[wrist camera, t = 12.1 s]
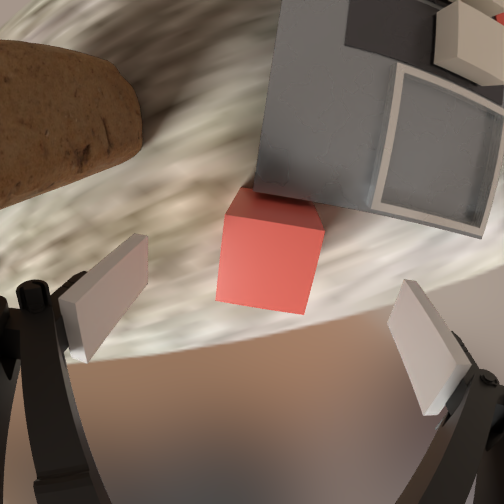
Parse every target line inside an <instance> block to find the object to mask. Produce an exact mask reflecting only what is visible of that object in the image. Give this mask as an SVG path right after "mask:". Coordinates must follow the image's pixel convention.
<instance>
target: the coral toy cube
mask: <svg viewBox="0 0 504 504" xmlns="http://www.w3.org/2000/svg"><path fill="white" fill-rule="evenodd" d="M324 233H325V230H324V227H323V225H322V223H321V220H320V218H319V215H318V213H317V211H316V208H315V206H314V204H313V201H307V200H302V199H296V198H290V197H284V196H279V195H272V194H266V193H260V192H254V191H253V189H250V188H244V187H241V188H240V190H239V191H238V193H237V195H236V196H235V198H234V200H233V202H232V203H231V205H230V207H229V209H228V210H227V212H226V214H225V219H224V227H223V236H222V245H221V253H220V262H219V272H218V281H217V291H216V300H215V301H220V302H226V303H232V304H238V305H243V306H250V307H256V308H262V309H268V310H275V311H281V312H288V313H295V314H302V315H304V313H305V309H306V305H307V302H308V298H309V294H310V290H311V286H312V283H313V279H314V275H315V271H316V267H317V263H318V259H319V255H320V250H321V246H322V242H323V238H324Z"/></svg>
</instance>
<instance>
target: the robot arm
mask: <svg viewBox="0 0 504 504" xmlns="http://www.w3.org/2000/svg"><path fill="white" fill-rule="evenodd" d="M147 284H148V236H147V235H141V234H135V233H134V234H133V235H132V236H131V237H129V238H128V239H127V240H126V241H124V242H123V243H122V244H121V245H119V246H118V247H117V248H116V249H115V250H113V251H112V252H111V253H110V254H108V255H107V256H106V257H105V258H104V259H103V260H101V261H100V262H99V263H98V264H97V265H95V266H94V267H93V268H92V269H91V270H90V271H88V272H86V271H82V272H80V273H78V274H76V275H74V276H73V277H71V278H70V279H69V280H68V281H67V282H65V283H64V284H63V285H62V287H60V288H58V289H57V290H56V291H55V292H54V293H53V294H52V295H50V292H49V287H48V284H47V283H46V282H45V281H42V280H29V281H26V282H24V283H22V284H20V285H19V286H18V287H17V289H16V294H17V298H18V302H19V306H20V309H16V308H9V307H8V303H7V300H6V298H4V297H3V296H0V504H3V481H4V464H5V453H6V444H7V436H8V428H9V422H10V415H11V409H12V403H13V398H14V393H15V388H16V383H17V379H18V375H19V371H20V366H21V375H22V388H23V398H24V407H25V415H26V422H27V429H28V435H29V440H30V445H31V451H32V456H33V460H34V465H35V469H36V473H37V480H35V481H34V486H33V487H34V492H35V496H36V500H37V503H38V504H112V503H111V500H110V498H109V496H108V493H107V491H106V489H105V487H104V484H103V482H102V479H101V477H100V474H99V472H98V469H97V467H96V464H95V462H94V459H93V456H92V453H91V451H90V448H89V445H88V442H87V439H86V436H85V433H84V430H83V426H82V423H81V420H80V417H79V413H78V410H77V406H76V402H75V399H74V395H73V391H72V387H71V383H70V378H69V374H68V369H67V365H66V360H65V356H64V351H65V350H66V349H67V348H68V347H69V350H70V354H71V357H72V358H74V359H76V360H79V361H82V362H85V363H88V362H89V361H90V359H91V358H92V356H93V355H94V354H95V352H96V351H97V350H98V348H99V347H100V346H101V344H102V343H103V341H104V340H105V339H106V337H107V336H108V335H109V333H110V332H111V331H112V329H113V328H114V327H115V325H116V324H117V323H118V321H119V320H120V319H121V318H122V316H123V315H124V314H125V312H126V311H127V310H128V308H129V307H130V306H131V305H132V303H133V302H134V301H135V299H136V298H137V297H138V296H139V294H140V293H141V292H142V290H143V289H144V288H145V287H146V285H147ZM387 324H388V327H389V329H390V331H391V334H392V336H393V339H394V341H395V343H396V345H397V348H398V350H399V353H400V355H401V358H402V360H403V363H404V365H405V368H406V370H407V373H408V375H409V378H410V381H411V383H412V386H413V388H414V391H415V394H416V396H417V399H418V402H419V405H420V408H421V410H422V413H423V415H438V414H439V413H440V411H441V410H442V409H443V407H444V406H445V404H446V407H447V409H448V412H447V414H446V415H445V416H444V418H443V419H442V420H441V421H440V423H439V424H438V425H437V426H436V428H435V429H436V430H437V429H438V431H437V432H436V434H435V436H434V438H433V440H432V442H431V444H430V446H429V448H428V450H427V452H426V454H425V456H424V457H423V459H422V461H421V463H420V464H419V466H418V468H417V469H416V472H415V473H414V475H413V476H412V478H411V480H410V481H409V483H408V484H407V486H406V488H405V489H404V491H403V493H402V494H401V495H400V497H399V498H398V500H397V501H396V503H395V504H465V502H466V499H467V497H468V495H469V492H470V490H471V487H472V484H473V482H474V479H475V476H476V474H477V478H476V486H475V494H474V501H473V504H504V386H503V385H499V381H498V379H497V378H496V376H495V375H494V374H492V373H491V372H489V371H487V370H484V369H479V367H478V366H477V364H476V363H475V361H474V359H473V358H472V356H471V355H470V353H469V352H468V350H467V348H466V347H465V346H464V343H463V342H462V340H461V339H460V338H459V337H458V336H457V335H456V334H455V333H454V332H453V331H450V329H449V328H448V326H447V324H446V323H445V321H444V320H443V319H442V317H441V316H440V314H439V313H438V311H437V310H436V308H435V307H434V305H433V304H432V303H431V301H430V300H429V298H428V297H427V295H426V294H425V293H424V291H423V290H422V288H421V287H420V286H419V284H418V283H417V281H412V280H406V279H404V281H403V284H402V286H401V289H400V292H399V294H398V297H397V300H396V302H395V305H394V307H393V310H392V312H391V315H390V318H389V320H388V322H387Z"/></svg>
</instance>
